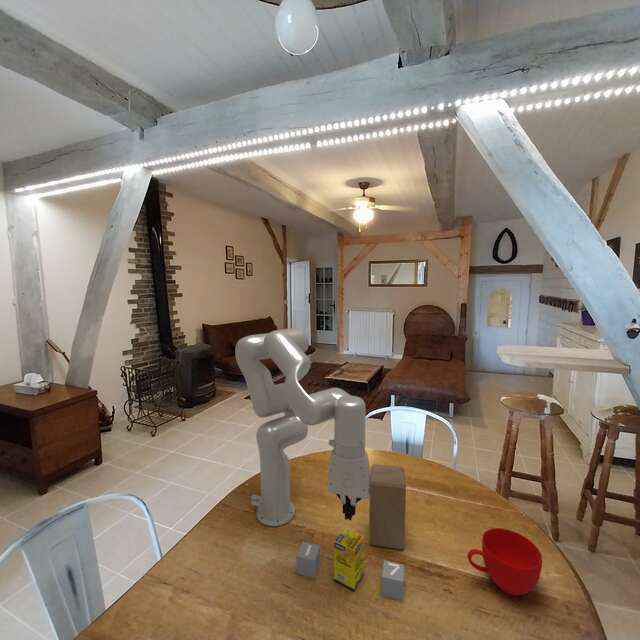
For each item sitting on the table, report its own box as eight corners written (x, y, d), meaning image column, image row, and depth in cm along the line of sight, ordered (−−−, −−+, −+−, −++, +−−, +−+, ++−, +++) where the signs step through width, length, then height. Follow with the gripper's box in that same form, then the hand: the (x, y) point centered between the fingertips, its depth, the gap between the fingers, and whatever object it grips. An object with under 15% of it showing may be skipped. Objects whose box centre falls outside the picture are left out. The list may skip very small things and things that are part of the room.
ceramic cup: (457, 561, 89) (458, 527, 88) (520, 562, 89) (522, 528, 88) (478, 607, 76) (480, 568, 75) (552, 609, 76) (555, 570, 75)
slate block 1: (296, 573, 86) (296, 555, 85) (302, 558, 90) (302, 541, 90) (314, 578, 84) (314, 559, 84) (320, 562, 89) (320, 544, 89)
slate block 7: (381, 595, 80) (381, 575, 79) (383, 578, 84) (383, 559, 84) (402, 600, 78) (403, 581, 78) (403, 582, 83) (404, 563, 82)
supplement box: (354, 592, 80) (354, 551, 79) (333, 581, 83) (333, 541, 82) (364, 574, 85) (365, 535, 84) (344, 564, 88) (344, 526, 87)
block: (404, 551, 92) (406, 485, 90) (368, 546, 94) (369, 480, 92) (403, 526, 102) (404, 465, 100) (370, 522, 104) (371, 462, 102)
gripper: (316, 450, 79) (316, 520, 81) (378, 459, 75) (377, 533, 77) (324, 436, 86) (324, 501, 88) (381, 444, 82) (380, 512, 84)
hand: (349, 516), depth 83 cm, fingers closed
